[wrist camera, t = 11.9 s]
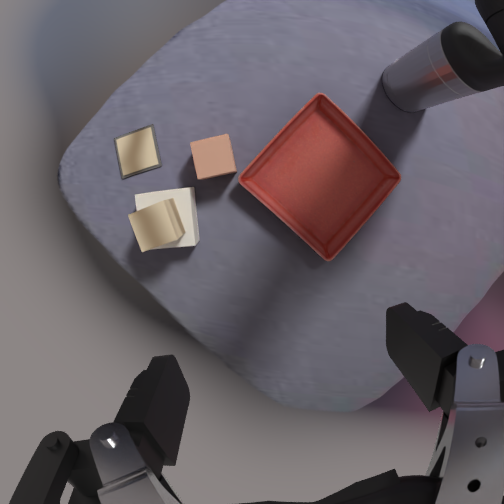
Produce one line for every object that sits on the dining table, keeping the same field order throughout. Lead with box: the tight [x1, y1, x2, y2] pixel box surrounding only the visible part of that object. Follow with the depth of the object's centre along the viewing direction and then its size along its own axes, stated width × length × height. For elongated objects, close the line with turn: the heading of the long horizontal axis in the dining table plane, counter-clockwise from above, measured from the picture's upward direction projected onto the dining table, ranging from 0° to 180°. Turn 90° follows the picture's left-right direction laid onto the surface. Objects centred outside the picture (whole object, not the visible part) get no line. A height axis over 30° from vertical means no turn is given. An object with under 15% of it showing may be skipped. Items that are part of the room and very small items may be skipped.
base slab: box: [135, 187, 200, 249], centre depth 40 cm, size 8×8×4 cm
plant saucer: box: [238, 93, 401, 261], centre depth 39 cm, size 18×18×3 cm
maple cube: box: [128, 198, 185, 252], centre depth 35 cm, size 5×5×5 cm
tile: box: [114, 124, 162, 179], centre depth 38 cm, size 7×7×1 cm
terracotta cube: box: [190, 134, 237, 180], centre depth 37 cm, size 5×5×5 cm
